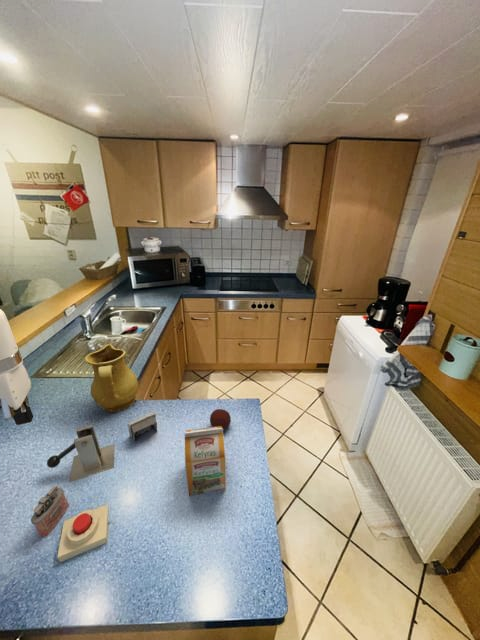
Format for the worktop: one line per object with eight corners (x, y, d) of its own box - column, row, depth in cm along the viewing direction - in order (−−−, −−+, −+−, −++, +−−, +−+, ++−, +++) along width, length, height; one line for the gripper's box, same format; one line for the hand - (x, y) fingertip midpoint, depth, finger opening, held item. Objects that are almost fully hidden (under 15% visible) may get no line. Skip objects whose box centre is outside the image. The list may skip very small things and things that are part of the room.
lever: (52, 472, 73) (42, 467, 71) (55, 462, 76) (45, 458, 74) (92, 440, 74) (84, 436, 72) (93, 432, 77) (85, 427, 75)
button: (73, 536, 59) (71, 532, 58) (75, 520, 62) (73, 516, 61) (90, 530, 60) (88, 526, 60) (92, 514, 63) (90, 510, 63)
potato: (212, 418, 97) (211, 404, 94) (231, 419, 97) (231, 405, 94) (208, 433, 91) (207, 419, 88) (229, 435, 90) (229, 421, 87)
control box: (59, 562, 58) (54, 553, 56) (66, 525, 64) (62, 516, 63) (107, 542, 61) (104, 533, 60) (109, 508, 68) (106, 500, 66)
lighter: (48, 541, 61) (35, 517, 57) (36, 538, 62) (22, 514, 57) (74, 506, 68) (64, 482, 64) (63, 503, 69) (52, 480, 65)
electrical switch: (155, 425, 94) (153, 408, 89) (161, 435, 90) (158, 418, 86) (129, 437, 89) (125, 420, 84) (134, 449, 85) (130, 431, 81)
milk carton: (221, 457, 82) (221, 413, 74) (225, 489, 73) (225, 444, 65) (189, 461, 81) (184, 418, 73) (188, 496, 71) (183, 450, 63)
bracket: (69, 484, 74) (56, 452, 68) (74, 458, 81) (62, 427, 75) (114, 469, 78) (105, 438, 72) (115, 446, 85) (107, 416, 80)
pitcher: (149, 389, 111) (137, 341, 100) (125, 423, 95) (107, 371, 84) (114, 385, 114) (99, 338, 103) (85, 417, 98) (63, 366, 86)
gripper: (-6, 347, 62) (18, 405, 69) (-42, 384, 49) (-7, 450, 57) (31, 343, 64) (50, 398, 72) (6, 377, 52) (33, 440, 59)
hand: (25, 421), depth 64 cm, fingers closed
